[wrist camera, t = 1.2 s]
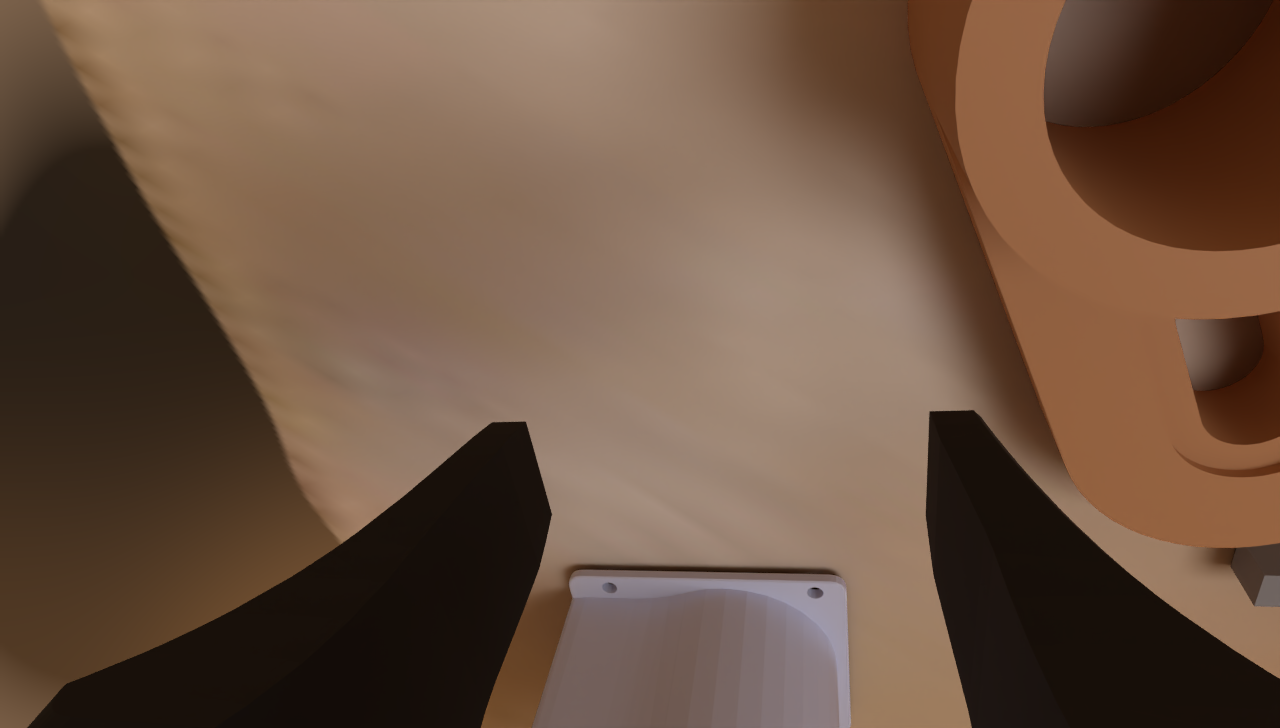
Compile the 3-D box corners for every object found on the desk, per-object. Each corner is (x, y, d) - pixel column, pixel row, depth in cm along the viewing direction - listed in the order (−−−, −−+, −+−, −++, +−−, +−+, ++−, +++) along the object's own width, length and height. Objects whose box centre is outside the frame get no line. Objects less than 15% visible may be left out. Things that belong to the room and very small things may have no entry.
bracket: (848, -110, 16) (871, -89, 11) (1330, -391, 13) (1731, -577, 8) (1077, 508, 24) (1164, 718, 18) (1426, 423, 20) (1668, 647, 15)
